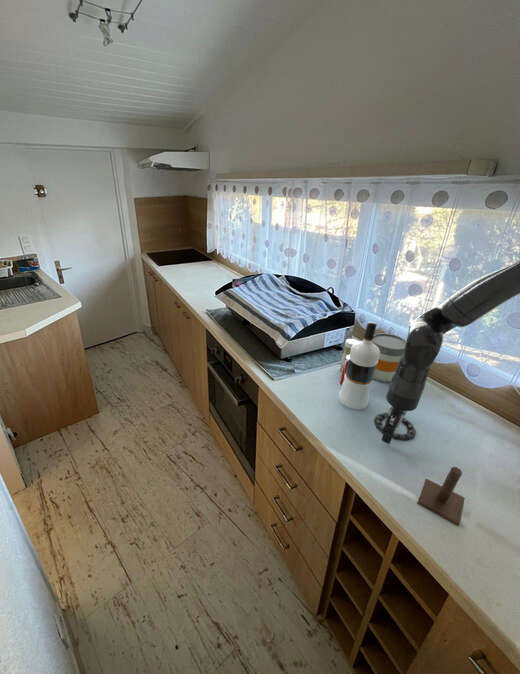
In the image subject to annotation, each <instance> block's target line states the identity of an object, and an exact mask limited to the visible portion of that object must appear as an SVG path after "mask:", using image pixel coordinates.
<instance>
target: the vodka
mask: <svg viewBox="0 0 520 674" xmlns="http://www.w3.org/2000/svg"><path fill="white" fill-rule="evenodd" d="M377 326H378V324H377V323H376V322H375V321H367V323H366V327H365V332H364V335H363V339H362V340H360V341H358V342H356V343H355V344H353V345H352V347H351V350H350V355H349V362H348V366H347V371H346V374H345V379H344V384H343V386H341V390H340V391H339V394H338V401H339V402H340V403H341V404H342V405H343V406H345V407H346V408H349V409H352V410H364V409H366V408H367V407H368V405H369V400H370V399H369V395H370V390H371V386H372V384H373V380H374V379H373V375H374V372H375V368H376V364H377V363H378V359H379V356H380V350H379V348H378V347H377V346H376V345H375V344H373V343H372V342H373V337H374V335H375V334H376V330H377Z"/></svg>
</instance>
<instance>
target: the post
mask: <svg viewBox="0 0 520 674" xmlns="http://www.w3.org/2000/svg"><path fill="white" fill-rule="evenodd" d="M462 475H463V471H462V470H461V469H460V468H458V467H457V466H452V467H451V468H450V470H449V472H448V473H447V475H446V478H445V479H444V481H443V484H442V485H440V484H438V483H436V482H435V481H432V480H430V479H429V478H425V480H424V483H423V485H422V489H421V492H420V495H419V497H418V500H417V504H418V505H419V506H421V507H423V508H425V509H426V510H428V511H430V512H432V513H434V514H435V515H437V516H439V517H441V518H442V519H445V520H446V521H448V522H449V523H451V524H454V525H455V526H457V527H459V525H460V524H461V520H462V514H463V508H464V504H465V499H466V498H465V497H464V496H462V495H460V494H458V493H456V492H454V490H455V488H456V486H457V484H458V482H459V480H460V479H461V477H462Z"/></svg>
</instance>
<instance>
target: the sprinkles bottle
mask: <svg viewBox="0 0 520 674" xmlns="http://www.w3.org/2000/svg"><path fill="white" fill-rule="evenodd" d="M356 342H359V341H358V340H357V339H354V338H347V339H346V340H345V343H344V349H343V353H342V358H341V363H340V368H339V371H340V372H341V373H342V370H343V365H344V361H345V358H346V357H347V355H350V350H351V347H352V345H353V344H355V343H356Z"/></svg>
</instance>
